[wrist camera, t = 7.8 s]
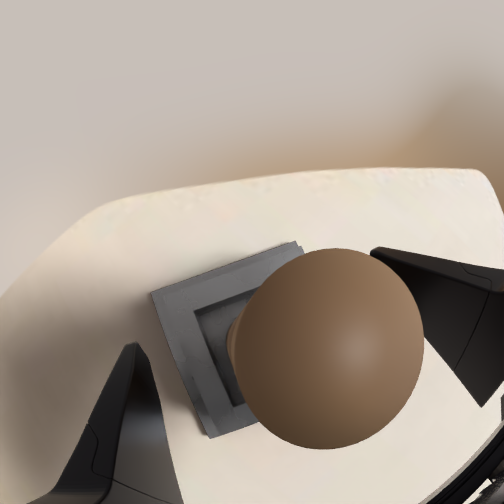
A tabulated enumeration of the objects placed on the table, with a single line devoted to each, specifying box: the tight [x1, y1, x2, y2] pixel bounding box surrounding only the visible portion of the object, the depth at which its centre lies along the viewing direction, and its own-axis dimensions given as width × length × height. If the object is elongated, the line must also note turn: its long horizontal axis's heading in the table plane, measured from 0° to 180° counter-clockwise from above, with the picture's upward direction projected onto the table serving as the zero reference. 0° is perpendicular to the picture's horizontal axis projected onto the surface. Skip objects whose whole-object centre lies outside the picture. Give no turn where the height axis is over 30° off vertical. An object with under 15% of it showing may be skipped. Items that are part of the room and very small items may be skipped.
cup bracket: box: [151, 241, 305, 439], centre depth 15 cm, size 10×10×4 cm
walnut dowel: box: [226, 248, 424, 449], centre depth 10 cm, size 4×4×13 cm
